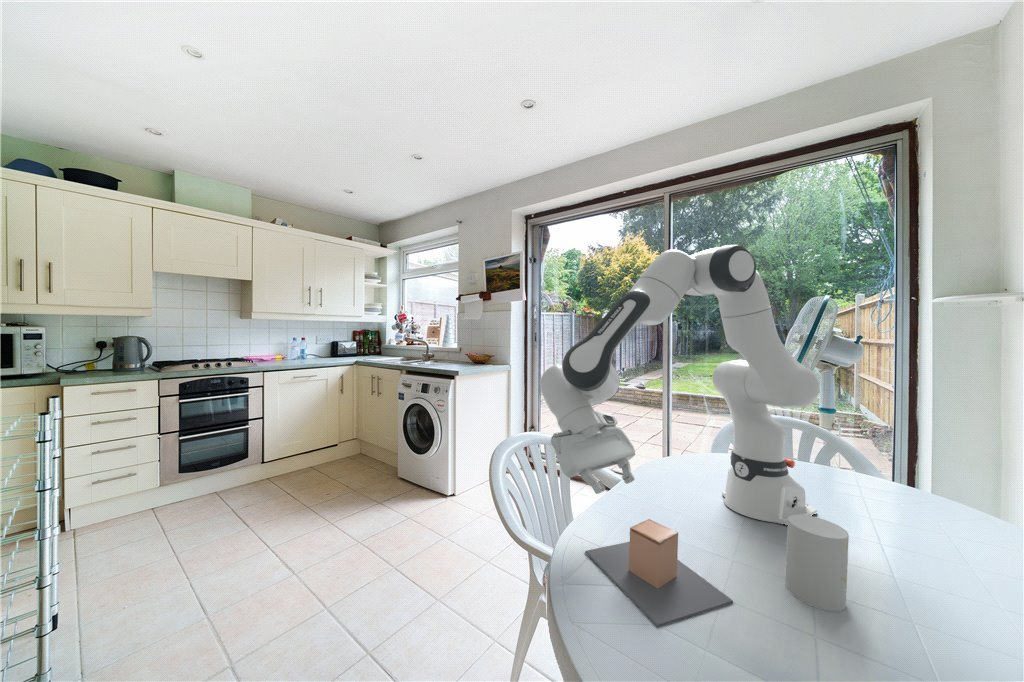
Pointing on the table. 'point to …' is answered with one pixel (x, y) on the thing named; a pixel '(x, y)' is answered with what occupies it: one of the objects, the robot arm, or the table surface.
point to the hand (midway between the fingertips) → (616, 486)
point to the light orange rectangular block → (653, 552)
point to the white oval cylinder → (817, 562)
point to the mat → (663, 603)
